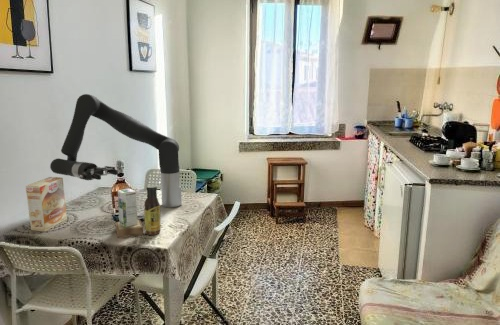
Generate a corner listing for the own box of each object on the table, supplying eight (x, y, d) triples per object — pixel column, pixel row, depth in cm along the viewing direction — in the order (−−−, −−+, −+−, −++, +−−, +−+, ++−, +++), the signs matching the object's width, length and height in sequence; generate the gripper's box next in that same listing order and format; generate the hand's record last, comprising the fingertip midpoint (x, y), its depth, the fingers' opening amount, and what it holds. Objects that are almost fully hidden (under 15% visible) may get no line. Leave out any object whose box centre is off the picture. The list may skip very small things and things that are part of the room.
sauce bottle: (152, 237, 151) (150, 189, 146) (142, 233, 154) (139, 187, 149) (164, 231, 156) (162, 185, 152) (153, 228, 159) (151, 183, 155)
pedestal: (140, 225, 162) (139, 218, 162) (143, 234, 153) (142, 226, 153) (115, 228, 159) (115, 221, 158) (117, 237, 150) (117, 230, 149)
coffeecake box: (45, 231, 155) (40, 186, 151) (30, 230, 156) (24, 185, 152) (68, 218, 170) (63, 177, 165) (53, 217, 171) (48, 176, 166)
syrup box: (119, 223, 156) (116, 190, 152) (132, 220, 159) (130, 187, 156) (124, 227, 151) (122, 193, 148) (138, 224, 155) (136, 190, 152)
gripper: (69, 165, 159) (93, 169, 151) (97, 159, 171) (121, 162, 163) (71, 182, 161) (95, 187, 153) (99, 175, 173) (123, 179, 165)
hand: (108, 174), depth 158 cm, fingers open, 8 cm apart
